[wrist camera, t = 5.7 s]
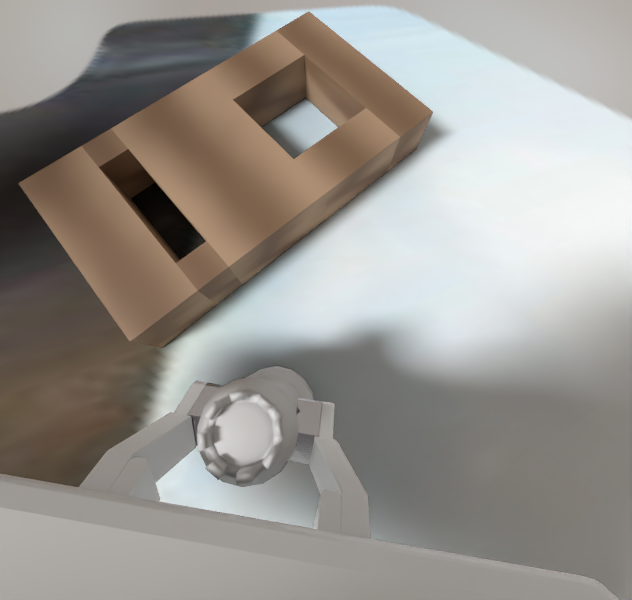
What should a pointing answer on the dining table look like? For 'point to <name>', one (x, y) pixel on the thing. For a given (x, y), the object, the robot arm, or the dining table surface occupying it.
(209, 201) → the block
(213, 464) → the rook chess piece
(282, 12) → the dining table surface
